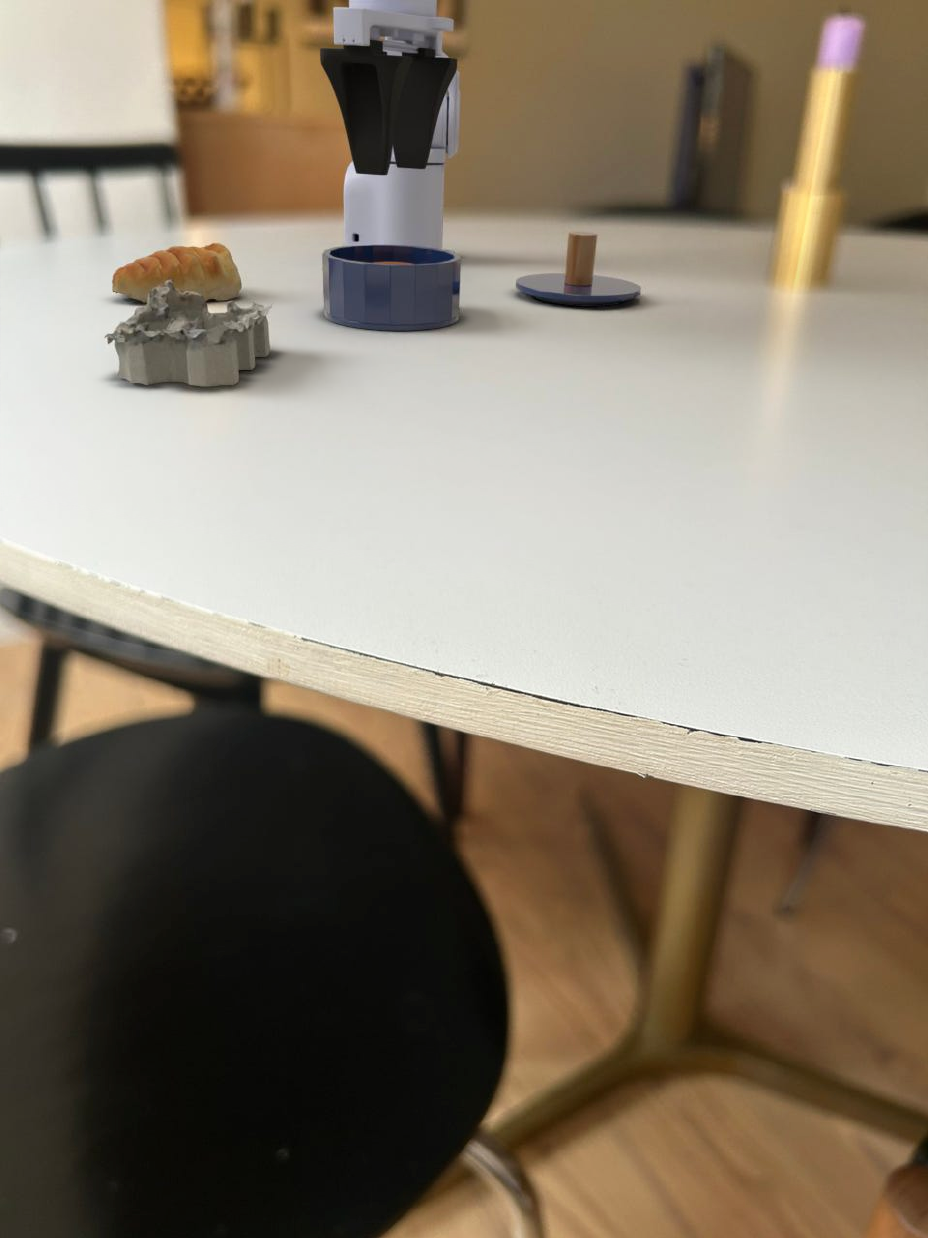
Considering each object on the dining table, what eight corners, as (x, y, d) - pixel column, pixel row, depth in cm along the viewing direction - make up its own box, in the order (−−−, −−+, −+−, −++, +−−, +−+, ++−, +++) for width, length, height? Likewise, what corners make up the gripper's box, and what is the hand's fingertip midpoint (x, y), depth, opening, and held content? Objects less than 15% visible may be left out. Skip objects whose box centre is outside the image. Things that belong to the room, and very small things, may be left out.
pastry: (134, 309, 70) (127, 254, 69) (99, 295, 75) (92, 242, 73) (249, 298, 76) (246, 247, 74) (211, 285, 80) (207, 236, 78)
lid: (500, 301, 79) (504, 235, 76) (531, 281, 88) (536, 221, 85) (628, 314, 76) (636, 246, 74) (647, 292, 85) (655, 231, 83)
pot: (301, 321, 69) (298, 257, 67) (357, 298, 78) (356, 240, 76) (432, 336, 67) (434, 269, 65) (475, 310, 75) (477, 251, 73)
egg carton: (174, 342, 62) (168, 276, 61) (286, 350, 62) (283, 284, 60) (97, 383, 53) (86, 307, 51) (228, 394, 52) (221, 316, 50)
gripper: (412, -85, 54) (409, 181, 60) (486, -49, 66) (477, 168, 73) (298, -84, 56) (307, 174, 62) (390, -50, 68) (389, 163, 74)
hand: (392, 171), depth 67 cm, fingers open, 7 cm apart
